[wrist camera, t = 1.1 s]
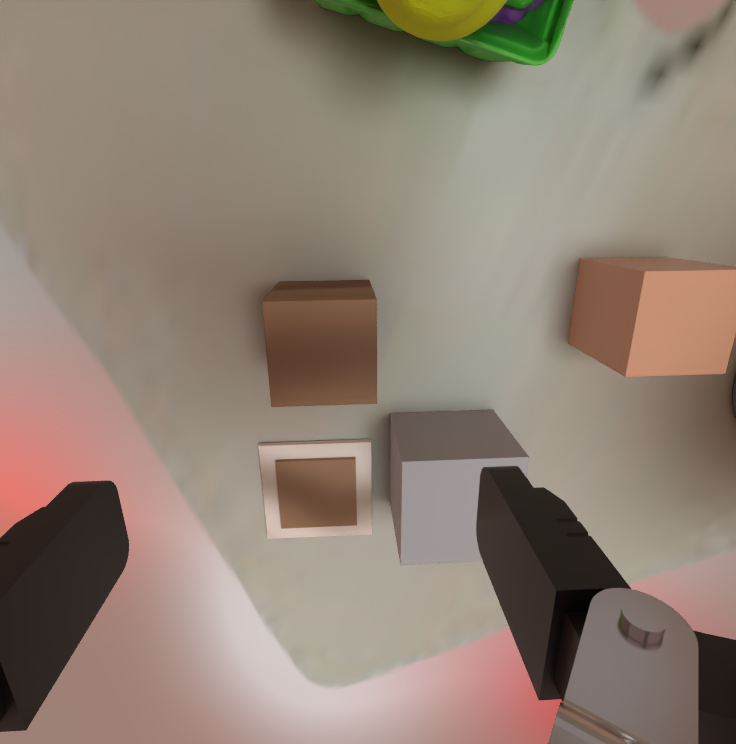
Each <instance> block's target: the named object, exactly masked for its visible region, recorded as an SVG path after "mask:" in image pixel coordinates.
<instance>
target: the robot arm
mask: <svg viewBox="0 0 736 744" xmlns="http://www.w3.org/2000/svg"><path fill="white" fill-rule="evenodd" d="M476 535H477V543H478V548H479V552H480V555H481V558H482V560H483V563H484V565H485V568H486V570H487V573H488V575H489V578H490V580H491V582H492V585H493V587H494V590H495V592H496V595H497V597H498V600H499V602H500V605H501V607H502V610H503V612H504V615H505V617H506V620H507V622H508V625H509V627H510V630H511V632H512V634H513V637H514V640H515V642H516V645H517V647H518V649H519V652H520V654H521V657H522V659H523V662H524V664H525V667H526V669H527V672H528V674H529V677H530V679H531V682H532V684H533V687H534V689H535V691H536V694H537V697H538V699H539V700H552V699H561V700H562V702H563V703H560V706H559V708H558V711H557V714H556V718H555V722H554V725H553V728H552V732H551V736H550V739H549V743H548V744H736V640H733V639H728V638H723V637H718V636H714V635H709V634H705V633H701V632H697V631H693V630H692V628H691V626H690V625H689V624H688V623H687V621H686V620H685V619H684V618H683V617H682V616H681V615H680V614H679V613H678V612H676V611H675V610H674V609H673V608H672V607H670V606H669V605H667V604H665V603H664V602H662V601H661V600H658V599H657V598H655V597H653V596H651V595H648V594H646V593H643V592H640V591H637V590H632V589H631V588H630V587H629V585H628V584H627V583H626V581H625V580H624V579H623V577H622V576H621V575H620V574H619V572H618V571H617V570H616V568H615V567H614V566H613V564H612V563H611V562H610V561H609V559H608V558H607V557H606V555H605V554H604V553H603V551H602V550H601V549H600V547H599V546H598V545H597V544H596V542H595V541H594V540H593V538H592V537H591V536H588V532H587V530H586V529H585V528H584V527H583V525H582V524H581V523H580V522H578V521H577V517H576V516H575V515H574V514H573V512H572V511H571V510H570V508H569V507H568V506H567V504H566V503H565V502H564V501H563V500H561V499H560V498H559V497H557V496H556V495H554V494H553V493H551V492H550V491H548V490H547V489H545V488H533V486H532V485H531V484H530V482H529V481H528V479H527V478H526V476H525V475H524V473H523V472H522V471H521V469H520V468H519V467H518V466H497V467H483V468H482V470H481V474H480V483H479V496H478V508H477V521H476ZM128 552H129V540H128V535H127V531H126V526H125V522H124V517H123V513H122V509H121V504H120V499H119V495H118V491H117V488H116V486H115V484H114V483H113V482H112V481H86V482H72V483H70V484H68V485H67V486H66V487H65V488H64V489H63V490H62V491H61V492H60V493H59V494H58V495H57V496H56V497H55V498H54V499H53V500H52V501H51V502H50V503H49V504H48V505H47V506H46V507H42V508H40V509H39V510H37V511H35V512H34V513H32V514H30V515H29V516H27V517H26V518H24V519H22V520H21V521H19V522H17V523H16V524H15V525H13V527H11V528H10V529H9V530H8V531H7V532H6V533H5V534H4V535H3V536H2V537H1V538H0V732H5V731H21V730H27V728H28V726H29V725H30V723H31V721H32V720H33V718H34V716H35V715H36V713H37V712H38V710H39V708H40V707H41V705H42V703H43V702H44V700H45V698H46V697H47V695H48V693H49V691H50V690H51V689H52V687H53V685H54V684H55V682H56V680H57V679H58V677H59V675H60V674H61V672H62V670H63V669H64V667H65V665H66V664H67V662H68V661H69V659H70V657H71V656H72V654H73V652H74V651H75V649H76V648H77V646H78V644H79V643H80V641H81V639H82V638H83V636H84V634H85V633H86V631H87V629H88V628H89V626H90V625H91V623H92V621H93V619H94V618H95V616H96V615H97V613H98V611H99V610H100V608H101V606H102V605H103V603H104V602H105V600H106V598H107V597H108V595H109V593H110V592H111V590H112V588H113V587H114V585H115V583H116V582H117V580H118V578H119V577H120V575H121V574H122V572H123V570H124V568H125V565H126V562H127V559H128Z"/></svg>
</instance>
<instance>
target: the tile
mask: <svg viewBox="0 0 736 744" xmlns="http://www.w3.org/2000/svg"><path fill="white" fill-rule="evenodd" d="M258 448H259V457H260V467H261V477H262V487H263V497H264V506H265V516H266V526H267V536H268V539H275V538H297V537H320V536H342V535H365V534H372V484H371V439H359V440H330V441H301V442H272V443H259V446H258Z"/></svg>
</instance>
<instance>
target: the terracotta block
mask: <svg viewBox="0 0 736 744" xmlns="http://www.w3.org/2000/svg"><path fill="white" fill-rule="evenodd" d="M735 335H736V267H732V266H725V265H718V264H711V263H704V262H697V261H690V260H683V259H676V258H669V257H628V258H580V261H579V268H578V275H577V282H576V289H575V296H574V304H573V311H572V318H571V325H570V332H569V339H568V343H569V344H570V345H572V346H574V347H575V348H577V349H579V350H581V351H582V352H584V353H586V354H587V355H589V356H591V357H592V358H594V359H596V360H598V361H599V362H601V363H603V364H604V365H606V366H608V367H609V368H611V369H613V370H615V371H616V372H618V373H620V374H621V375H623V376H625V377H636V376H670V375H704V374H725V372H726V369H727V365H728V361H729V357H730V353H731V350H732V346H733V342H734V338H735Z"/></svg>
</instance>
